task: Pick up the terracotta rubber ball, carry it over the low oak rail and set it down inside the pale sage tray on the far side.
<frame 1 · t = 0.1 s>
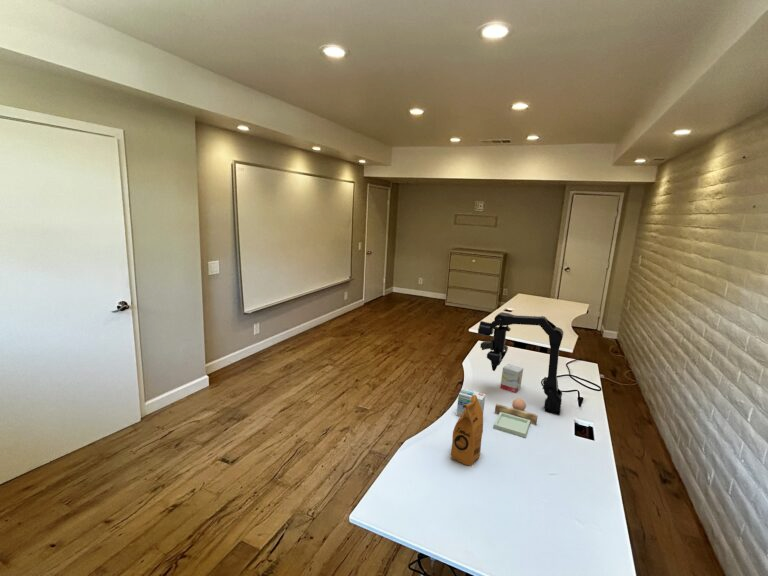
hand: (495, 367, 191), 15 cm above the table, fingers open, 9 cm apart
coffee package: (465, 455, 142), on the table
ball: (518, 410, 179), on the table
light bulb box: (469, 416, 171), on the table
sage tray: (511, 426, 165), on the table
oak rail: (515, 418, 172), on the table
ink box: (510, 388, 203), on the table
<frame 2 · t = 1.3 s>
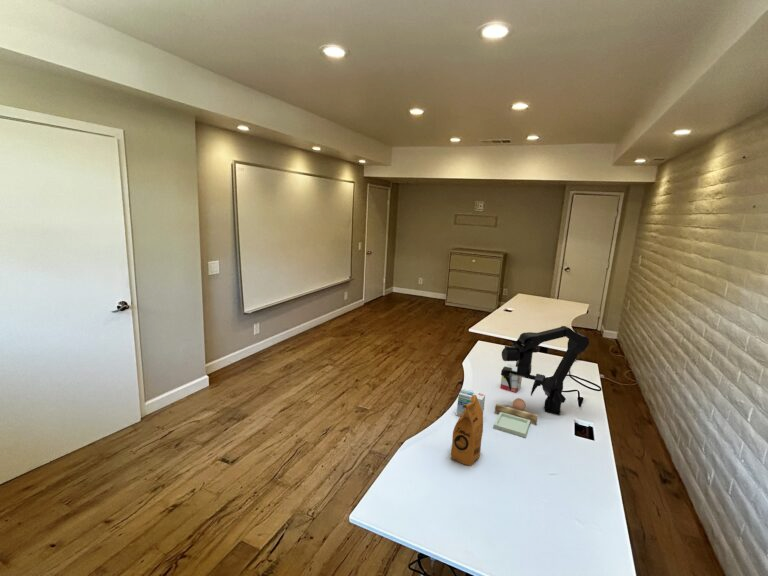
hand: (520, 392, 177), 9 cm above the table, fingers open, 9 cm apart
nothing on the table moved.
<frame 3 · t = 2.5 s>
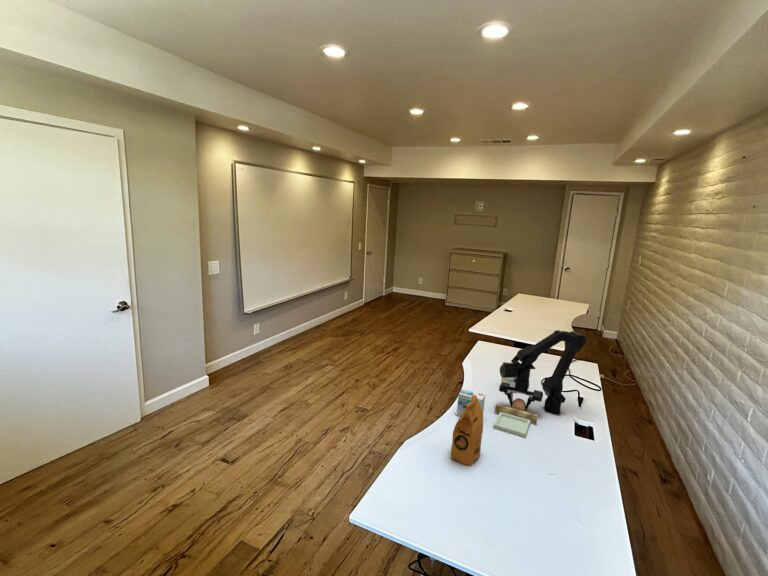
hand: (518, 408, 178), 1 cm above the table, fingers closed on ball, 6 cm apart
ball: (518, 411, 179), on the table, touching gripper
everything else where it was.
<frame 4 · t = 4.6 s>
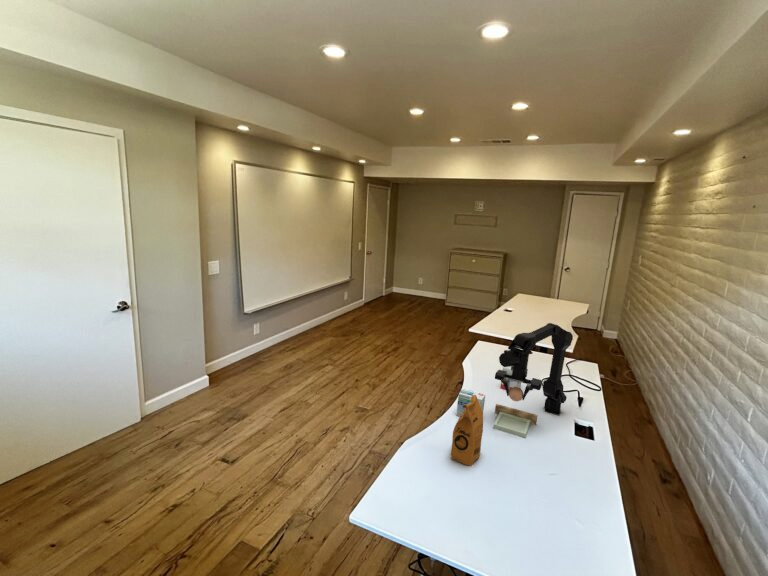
hand: (515, 398, 166), 12 cm above the table, fingers closed on ball, 6 cm apart
ball: (515, 400, 166), point 10 cm above the table, touching gripper
everything else where it was.
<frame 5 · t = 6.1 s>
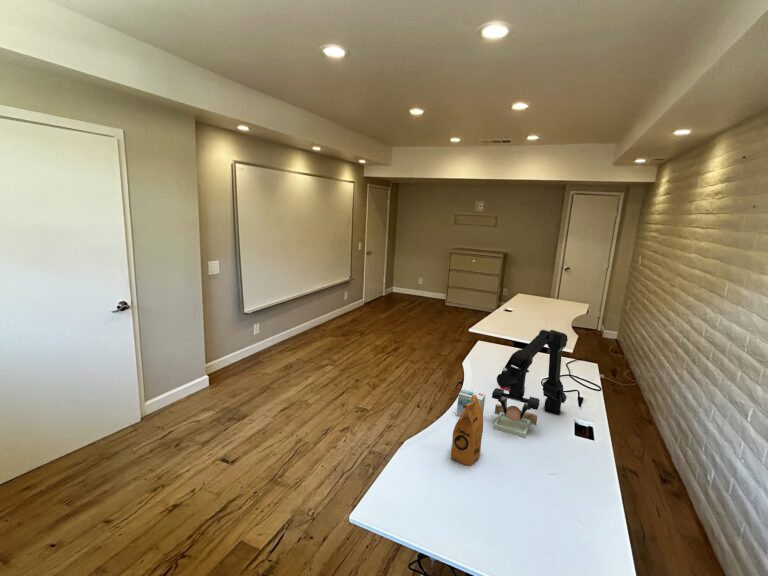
hand: (513, 416, 164), 4 cm above the table, fingers closed on ball, 6 cm apart
ball: (512, 419, 164), point 3 cm above the table, touching gripper
everything else where it was.
when the fingers open (2 cm above the table, at t = 7.0 s): ball stays where it is, resting on sage tray.
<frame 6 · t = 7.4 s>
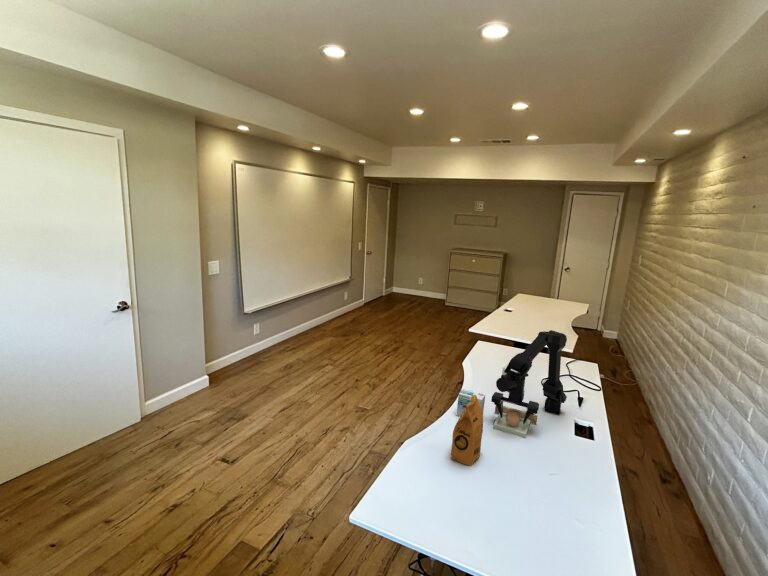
hand: (512, 420, 164), 2 cm above the table, fingers open, 9 cm apart
ball: (511, 425, 165), resting on sage tray
everything else where it was.
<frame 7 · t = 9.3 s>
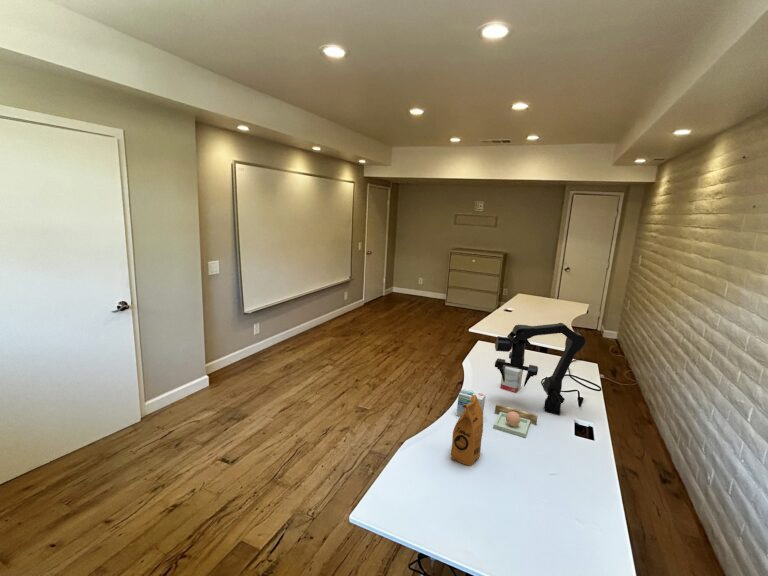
hand: (514, 383, 180), 12 cm above the table, fingers open, 9 cm apart
nothing on the table moved.
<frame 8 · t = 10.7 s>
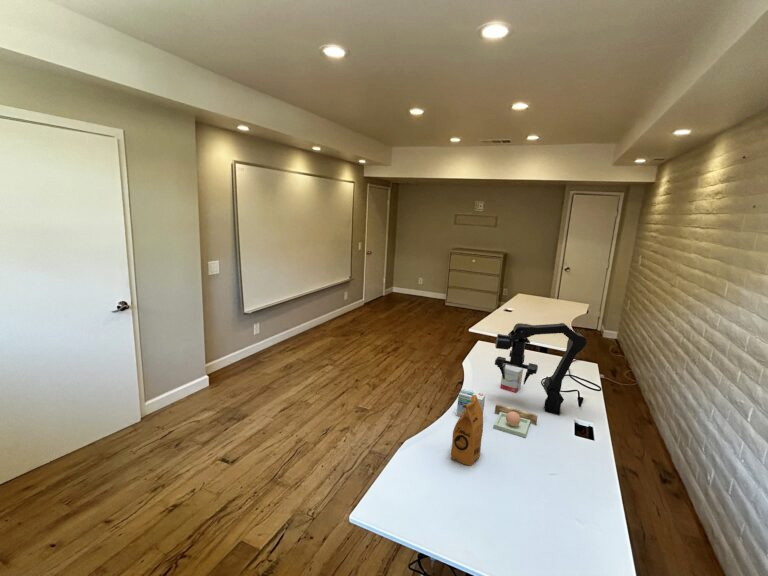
hand: (513, 381, 182), 12 cm above the table, fingers open, 9 cm apart
nothing on the table moved.
at the end: ball inside the target area on the sage tray (0.0 cm from its centre), point 0.5 cm above the sage tray's base; the gripper is holding nothing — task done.
